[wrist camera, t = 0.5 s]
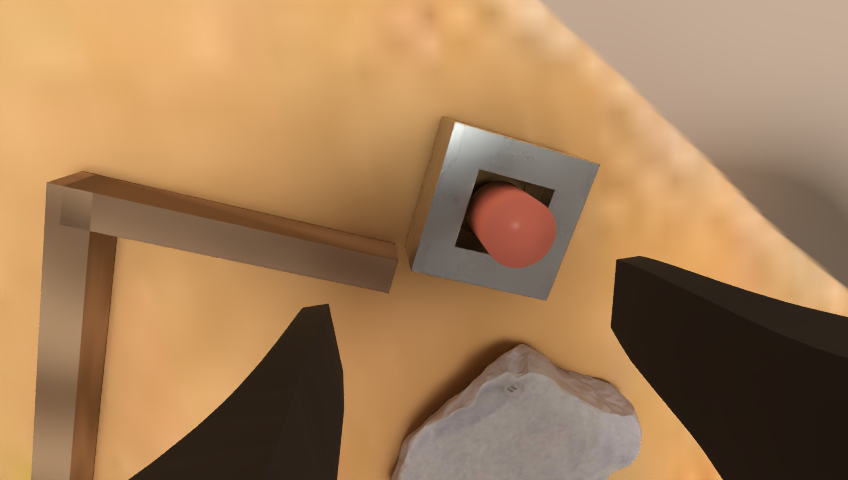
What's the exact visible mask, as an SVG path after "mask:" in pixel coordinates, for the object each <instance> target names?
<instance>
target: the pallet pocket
mask: <svg viewBox="0 0 848 480" xmlns="http://www.w3.org/2000/svg"><path fill="white" fill-rule="evenodd" d="M117 237H121V238H126V239H131V240H135V241H140V242H145V243H150V244H155V245H159V246H164V247H169V248H174V249H179V250H183V251H188V252H193V253H198V254H203V255H207V256H212V257H217V258H222V259H227V260H232V261H236V262H241V263H246V264H251V265H256V266H260V267H265V268H270V269H275V270H280V271H284V272H289V273H294V274H299V275H304V276H309V277H313V278H318V279H323V280H328V281H333V282H337V283H342V284H347V285H352V286H357V287H361V288H366V289H371V290H376V291H381V292H385V293H389V290H390V287H391V283H392V280H393V276H394V273H395V269H396V266H397V262H398V259H397V254H396V249H395V244H394V243H390V242H385V241H381V240H377V239H372V238H368V237H364V236H359V235H355V234H351V233H346V232H342V231H338V230H333V229H329V228H325V227H320V226H316V225H312V224H308V223H303V222H299V221H295V220H290V219H286V218H282V217H277V216H273V215H269V214H264V213H260V212H256V211H251V210H247V209H243V208H238V207H234V206H230V205H225V204H221V203H217V202H212V201H208V200H204V199H199V198H195V197H191V196H186V195H182V194H178V193H173V192H169V191H165V190H160V189H156V188H152V187H147V186H143V185H139V184H134V183H130V182H126V181H121V180H117V179H113V178H108V177H104V176H100V175H95V174H91V173H87V172H78V173H75V174H72V175H69V176H66V177H63V178H60V179H56V180H53V181H50V182H47V188H46V207H45V226H44V246H43V265H42V284H41V303H40V322H39V341H38V360H37V379H36V398H35V417H34V436H33V455H32V474H31V480H93V471H94V461H95V451H96V440H97V430H98V420H99V410H100V400H101V390H102V380H103V370H104V360H105V350H106V340H107V330H108V320H109V310H110V300H111V290H112V280H113V270H114V260H115V250H116V240H117Z"/></svg>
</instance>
